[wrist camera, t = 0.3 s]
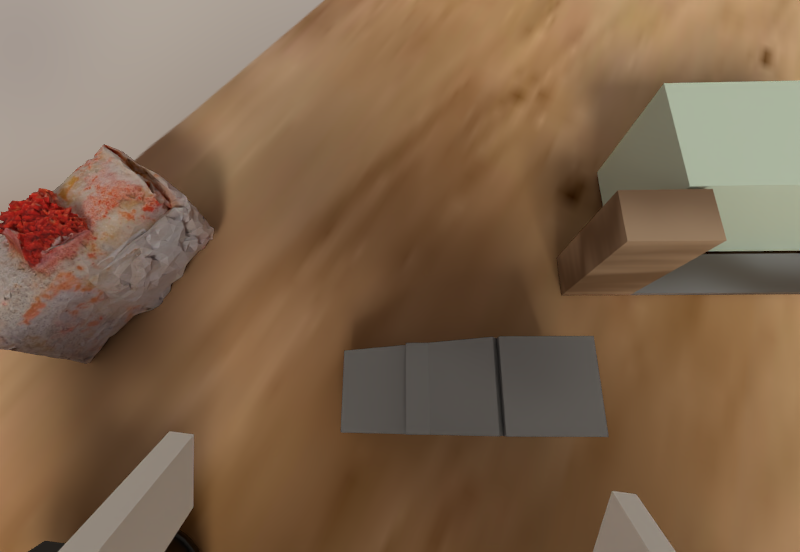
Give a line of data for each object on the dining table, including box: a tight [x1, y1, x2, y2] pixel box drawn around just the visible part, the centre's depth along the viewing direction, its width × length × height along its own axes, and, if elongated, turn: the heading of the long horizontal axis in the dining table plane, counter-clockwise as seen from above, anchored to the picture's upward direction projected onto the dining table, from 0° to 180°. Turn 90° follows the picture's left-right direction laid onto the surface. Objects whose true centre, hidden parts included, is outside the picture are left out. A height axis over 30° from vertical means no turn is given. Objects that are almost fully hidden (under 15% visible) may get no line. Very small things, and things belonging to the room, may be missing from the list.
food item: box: [0, 145, 214, 364], centre depth 28 cm, size 14×8×10 cm, turn 143°
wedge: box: [341, 336, 609, 437], centre depth 25 cm, size 5×14×8 cm, turn 90°
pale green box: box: [597, 81, 800, 251], centre depth 28 cm, size 8×15×10 cm, turn 90°
